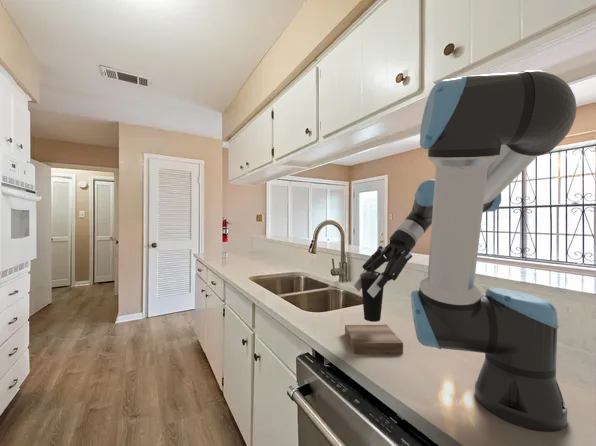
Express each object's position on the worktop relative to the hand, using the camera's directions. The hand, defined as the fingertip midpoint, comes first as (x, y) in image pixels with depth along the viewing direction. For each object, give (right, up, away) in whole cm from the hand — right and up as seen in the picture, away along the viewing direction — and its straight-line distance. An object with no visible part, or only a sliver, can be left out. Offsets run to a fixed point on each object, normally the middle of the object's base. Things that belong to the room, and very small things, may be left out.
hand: (362, 291), depth 88 cm
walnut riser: (+3, -16, +1) cm, 17 cm away
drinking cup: (+3, -9, +1) cm, 10 cm away
